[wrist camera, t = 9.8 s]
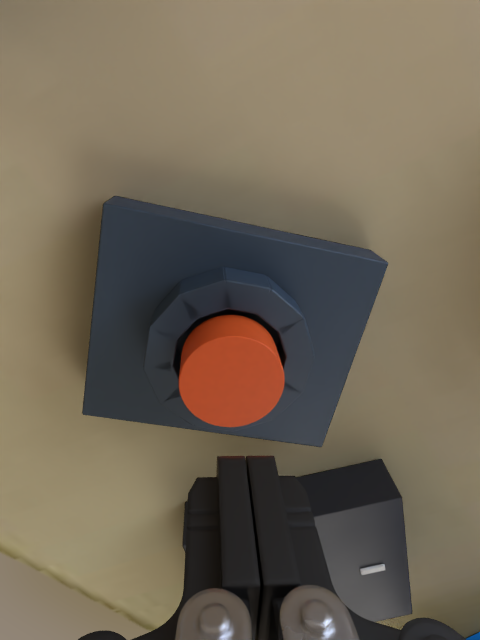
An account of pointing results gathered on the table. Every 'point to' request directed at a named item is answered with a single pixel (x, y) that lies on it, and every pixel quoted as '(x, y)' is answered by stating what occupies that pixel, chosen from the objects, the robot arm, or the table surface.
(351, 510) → the dial panel
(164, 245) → the switch block
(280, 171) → the table surface
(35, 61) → the table surface
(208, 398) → the button
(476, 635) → the thermos
